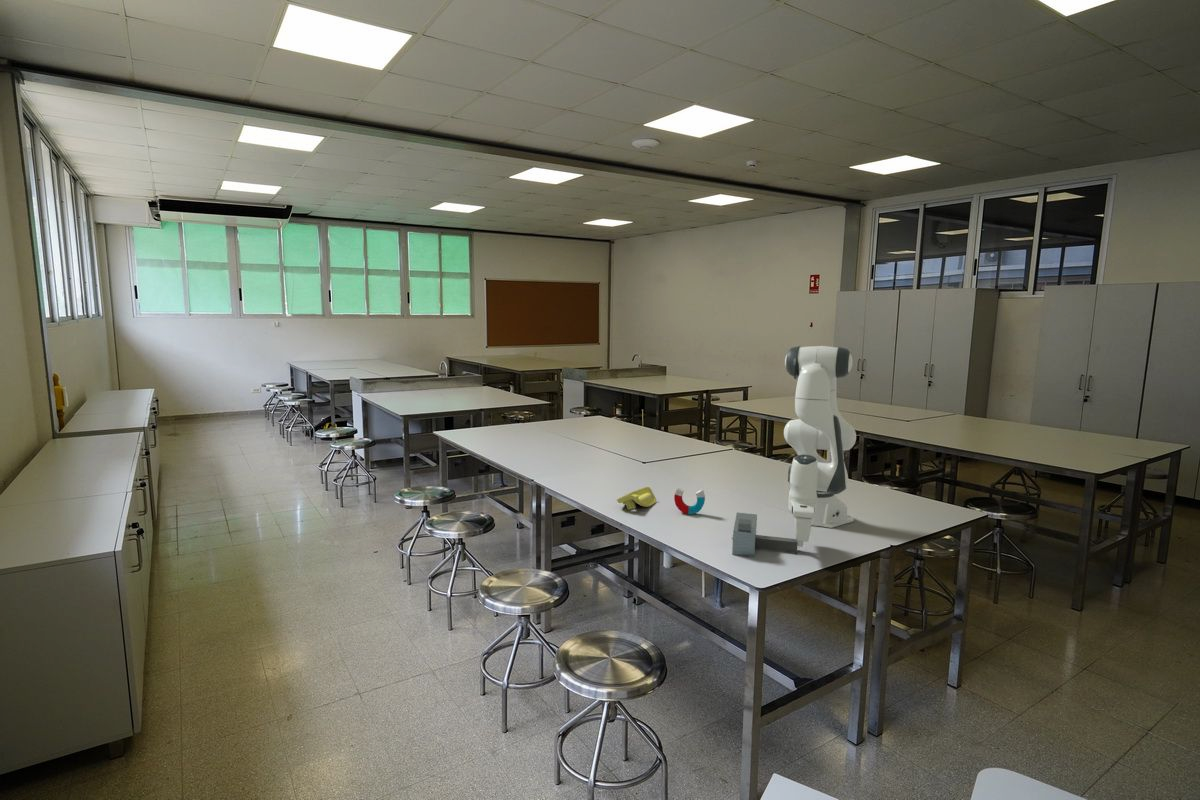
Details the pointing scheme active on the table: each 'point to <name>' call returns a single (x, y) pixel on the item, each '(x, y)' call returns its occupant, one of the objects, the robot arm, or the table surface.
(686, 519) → the table surface
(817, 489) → the robot arm
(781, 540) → the plug
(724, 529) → the table surface
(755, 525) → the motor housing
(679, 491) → the magnet
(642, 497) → the plastic component
